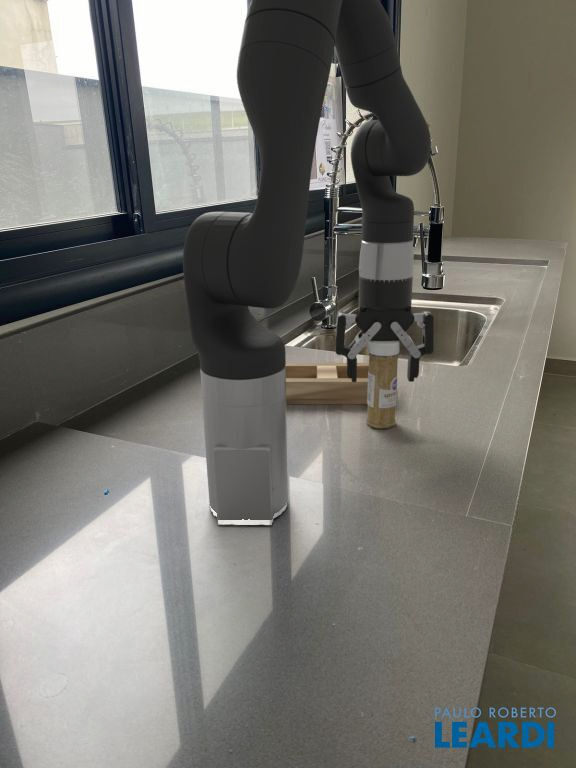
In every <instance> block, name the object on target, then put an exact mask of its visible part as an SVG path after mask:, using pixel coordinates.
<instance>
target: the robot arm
mask: <svg viewBox="0 0 576 768" xmlns="http://www.w3.org/2000/svg"><path fill="white" fill-rule="evenodd" d="M244 21H245V22H244V25H243V31H242V36H241V41H240V48H239V52H238V57H237V58H238V59H237V66H236V84H237V89H238V91H239V92H238V93H239V96H240V99H241V103H242V106H243V109H244V112H245V115H246V116H247V119H248V123H249V125H250V127H251V129H252V132H253V135H254V138H255V142H256V144H257V148H258V152H259V157H260V158H259V159H260V160H259V161H260V171H259V172H260V173H259V174H260V175H259V183H258V191H257V198H256V202H255V207H254V210H253V212H237V211H234V212H233V211H210V212H205V213H203V214H202V215H200V216H198V217H197V218H195V220H194V221H192V224H190V227H189V228H188V231H187V234H186V236H185V241H184V245H183V251H182V252H183V253H182V254H183V256H182V268H183V269H182V272H183V282H184V291H185V298H186V304H187V305H186V306H187V313H188V321H189V322H188V323H189V330H190V337H191V341H192V344H193V346H194V349H195V351H196V353H197V354H198V358H199V368H200V369H199V370H200V371H199V372H200V384H201V400H202V401H201V402H202V403H201V404H202V415H203V429H204V444H205V445H204V446H205V458H206V459H205V460H206V461H205V462H206V473H207V488H208V500H209V501H208V502H209V503H210V504H209V507H210V506H211V508H212V509H213V510H214V511H215V512H216V513H217V518H216V520H217V519H218V520H242V519H244V520H248V519H250V520H272V519H273V516H274V514H275V513H277V512H279V511H280V510H281V509H282V508H283V507H284V506H285V505H286V503H287V501H288V502H289V493H288V492H289V489H288V487H289V486H288V484H289V483H288V439H287V437H288V436H287V434H288V432H287V425H288V424H287V423H288V422H287V404H286V363H287V362H286V361H287V360H286V345H285V343H284V340H283V339H282V338H281V336H280V335H278V334H277V333H275V332H274V331H272V330H271V329H269V328H267V327H266V326H265V325H264V324H262V323H260V321H259V320H257V318H256V317H255V316H254V315H253V313H252V312H251V311H250V308H259V309H260V308H261V309H276V308H279V307H281V306H283V305H284V304H285V303H286V302H287V301H288V300H289V299H290V297H291V296H292V294H293V292H294V290H295V288H296V285H297V282H298V280H299V275H300V271H301V267H302V260H303V254H304V245H305V235H306V227H307V226H306V225H307V215H308V203H309V196H310V187H311V186H310V184H311V178H312V177H311V176H312V170H313V169H312V168H313V161H314V156H315V155H314V154H315V149H316V148H315V147H316V145H317V137H318V132H319V127H320V126H319V125H320V121H321V115H322V110H323V105H324V101H325V98H326V91H327V87H328V83H329V78H330V74H331V69H332V63H333V57H334V54H336V59H337V62H338V66H339V70H340V73H341V76H342V80H343V85H344V87H345V91H346V94H347V97H348V99H349V102H350V103H351V105H352V106H353V107H354V108H357V109H359V110H362V111H366V112H369V113H371V114H372V115H374V116H375V117H376V119H372V120H369V121H365V122H364V123H362V124H360V126H359V127H358V128H357V129H356V131H355V133H354V135H353V137H352V141H351V146H350V161H351V168H352V172H353V177H354V182H355V185H356V191H357V194H358V195H357V196H358V197H359V198H358V199H359V202H360V206H361V212H362V216H361V245H360V252H359V263H358V273H359V274H358V308H357V310H356V311H357V312H356V313H355V314H354V313H345V312H344V311H338V312H337V313H336V321H335V322H336V324H335V339H334V349H335V350H334V352H335V354H336V355H338V356H344V357H345V358H346V363H347V376H348V378H351V381H352V382H357V363H358V358H357V356H358V354H360V352H361V351H362V350H363V349H365V348H366V346H367V345H368V343H369V341H400V342H401V343H402V344H403V345H404V347H405V348H406V349H407V351H408V352H409V354H407V355H408V357H407V373H406V376H407V380H408V382H409V383H410V382H412V383H414V381H415V379H418V377H419V374H420V372H419V371H420V359H421V357H422V356H424V355H431V354H432V353H434V321H435V320H434V316H433V314H432V313H431V311H429V310H423V311H422V312H415V313H413V311H412V299H413V281H414V262H415V261H414V257H415V256H414V254H415V253H414V244H413V243H414V241H413V239H414V224H415V221H414V220H415V204H414V202H413V199H411V198H410V197H408V196H406V195H404V194H401V193H398V192H396V191H395V189H394V188H393V185H392V181H391V178H390V177H411V176H414V175H416V174H418V173H421V171H423V169H424V168H425V167H426V166H427V163H428V161H429V159H430V155H431V151H432V149H431V148H432V138H431V131H430V129H429V128H430V127H429V126H428V123H427V121H426V119H425V118H426V117H425V116H424V114H423V113H422V111H421V108H420V106H419V105H418V103H417V101H416V99H415V97H414V95H413V92H412V91H411V89H410V87H409V85H408V83H407V82H406V80H405V77H404V75H403V72H402V71H403V70H402V65H401V61H400V56H399V51H398V47H397V42H396V36H395V34H394V30H393V27H392V23H391V20H390V18H389V15H388V13H387V12H386V9H385V7H384V6H383V4H382V2H381V1H380V0H250V2H249V5H248V9H247V13H246V15H245V19H244ZM334 52H335V53H334ZM249 307H250V308H249ZM414 322H416V323H417V326H418V327H419V328H421V339H422V340H421V344H418V345H416V343H415V342H414V341H413V340H412V338H411V336H410V335H409V333H408V332H407V331H408V330H409V329H410V328H411V326H412V325H413V324H414ZM353 323H355V325H356V326H358V329H360V331H359V332H358V333H357V334H356V335H355V337H354V339H353V341H352V342H351V343H350V344H349V346H348V345H345V338H346V330H349V329H350V328H351V326H352V325H353Z"/></svg>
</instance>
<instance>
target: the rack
mask: <svg viewBox="0 0 576 768" xmlns="http://www.w3.org/2000/svg"><path fill="white" fill-rule="evenodd" d="M368 371H369V362H357V382H352V381H351V378H348V376H347V362H286V405H368V404H367V393H368Z"/></svg>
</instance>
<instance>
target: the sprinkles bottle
mask: <svg viewBox="0 0 576 768" xmlns="http://www.w3.org/2000/svg"><path fill="white" fill-rule="evenodd" d="M400 342H401V340H399V341H369V342H368V344H367V345H368V346H367V352H368V363H369V371H368V393H367V404H366V405H367V413H366V414H367V415H366V424H367V425H368V426H369V427H371V428H375V429H379V430H380V429H383V430H384V429H388V428H389V429H390V428H392V427H394V426H395V425H396V424H397V423H396V407H397V406H396V405H397V393H398V392H397V391H398V363H399V362H398V360H399V353H400V350H401V349H400V344H401V343H400Z"/></svg>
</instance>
